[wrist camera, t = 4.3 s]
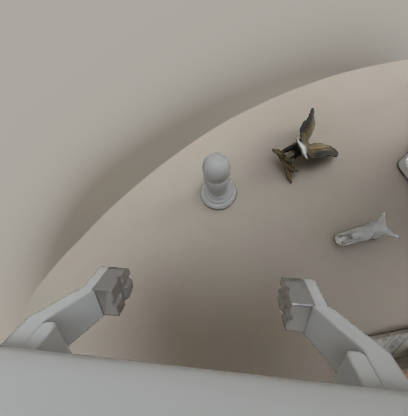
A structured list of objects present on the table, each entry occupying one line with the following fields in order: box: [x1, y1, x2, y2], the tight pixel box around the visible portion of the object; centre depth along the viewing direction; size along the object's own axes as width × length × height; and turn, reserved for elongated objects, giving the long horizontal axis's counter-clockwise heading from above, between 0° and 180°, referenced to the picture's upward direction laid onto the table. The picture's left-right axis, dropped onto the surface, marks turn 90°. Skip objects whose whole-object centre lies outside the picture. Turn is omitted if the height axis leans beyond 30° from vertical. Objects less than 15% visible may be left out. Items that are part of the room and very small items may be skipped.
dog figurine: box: [335, 212, 400, 246], centre depth 24 cm, size 3×8×6 cm
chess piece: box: [201, 153, 236, 209], centre depth 26 cm, size 5×5×9 cm
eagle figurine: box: [272, 108, 338, 183], centre depth 28 cm, size 8×7×9 cm
